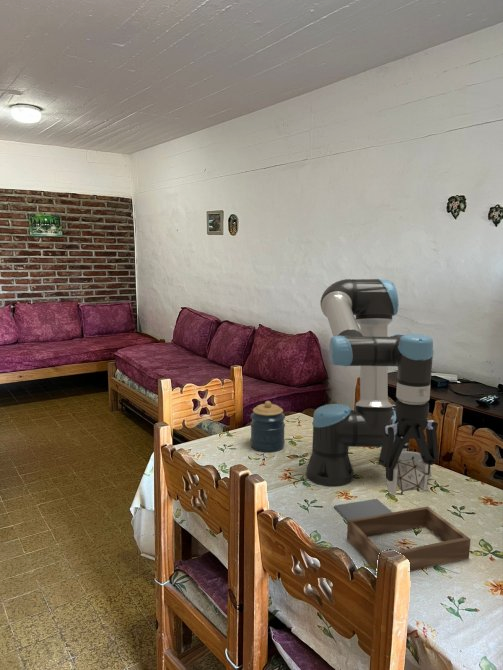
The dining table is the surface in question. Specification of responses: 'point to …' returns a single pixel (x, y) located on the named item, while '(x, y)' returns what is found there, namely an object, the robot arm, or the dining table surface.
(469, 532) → the dining table surface
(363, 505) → the pad
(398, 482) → the game die
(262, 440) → the canister
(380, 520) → the rectangular frame
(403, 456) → the teacup
